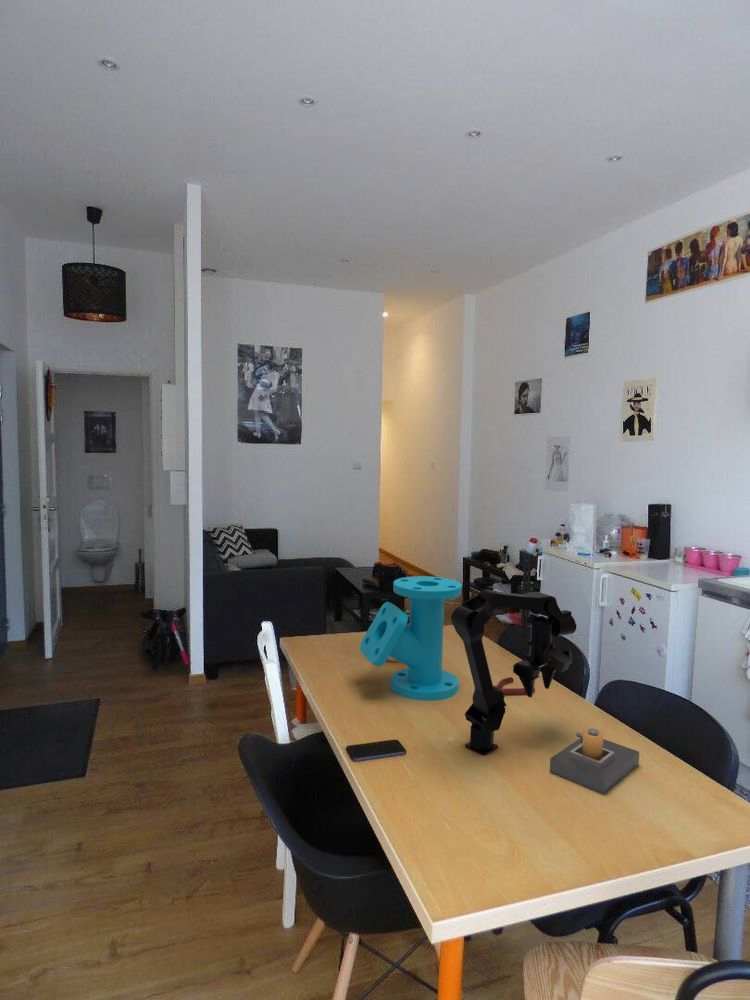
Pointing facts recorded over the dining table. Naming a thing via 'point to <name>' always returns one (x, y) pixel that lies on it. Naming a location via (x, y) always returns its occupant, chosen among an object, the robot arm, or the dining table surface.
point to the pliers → (510, 690)
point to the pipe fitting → (414, 638)
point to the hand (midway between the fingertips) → (538, 692)
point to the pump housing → (591, 743)
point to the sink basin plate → (595, 765)
